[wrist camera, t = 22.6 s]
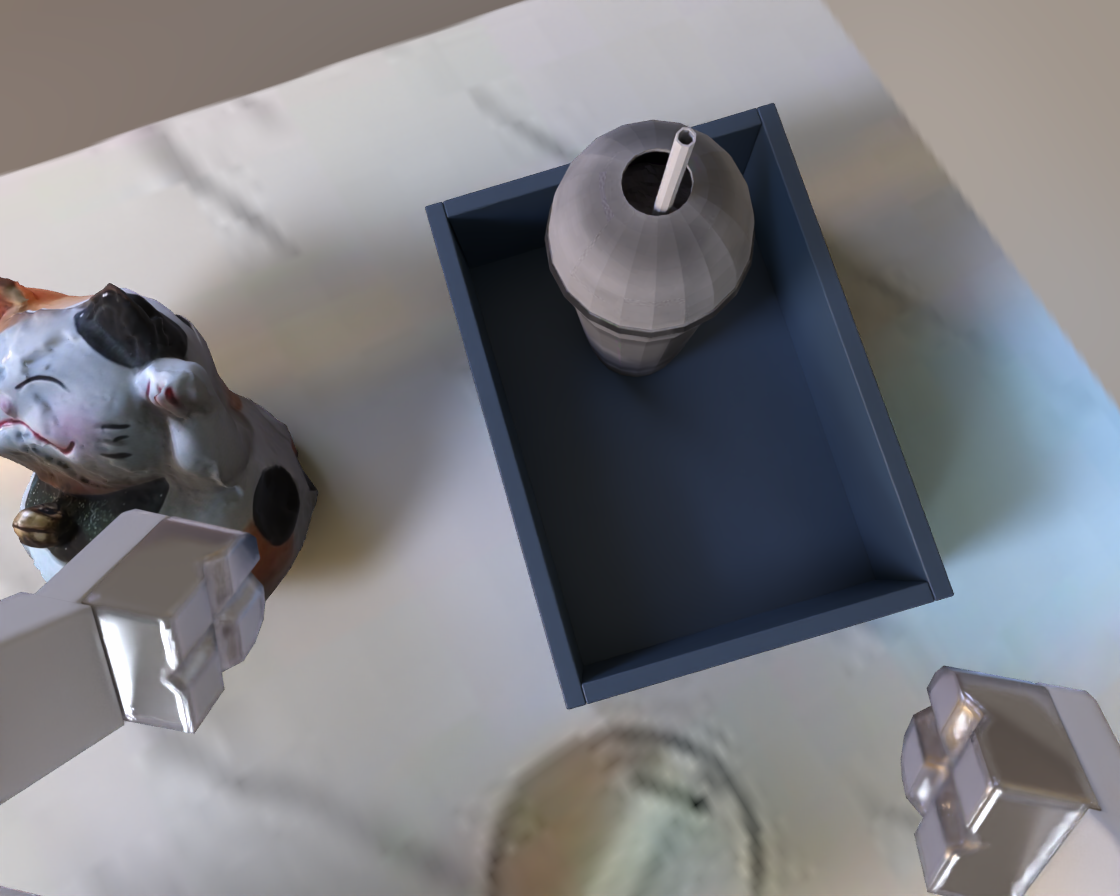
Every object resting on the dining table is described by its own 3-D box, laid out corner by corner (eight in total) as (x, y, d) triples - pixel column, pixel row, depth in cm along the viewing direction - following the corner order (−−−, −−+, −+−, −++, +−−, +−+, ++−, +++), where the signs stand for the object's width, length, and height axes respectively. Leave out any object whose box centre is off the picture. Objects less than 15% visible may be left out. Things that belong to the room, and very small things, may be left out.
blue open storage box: (745, 179, 41) (774, 101, 34) (890, 590, 38) (955, 595, 31) (453, 266, 41) (424, 205, 34) (572, 684, 38) (567, 710, 31)
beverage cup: (681, 241, 40) (760, -80, 20) (731, 377, 39) (867, 179, 19) (542, 287, 40) (483, 11, 20) (588, 425, 39) (573, 275, 19)
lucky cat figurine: (8, 585, 40) (-263, 405, 29) (169, 405, 46) (-5, 200, 35) (233, 697, 34) (3, 527, 23) (383, 476, 40) (257, 259, 29)
